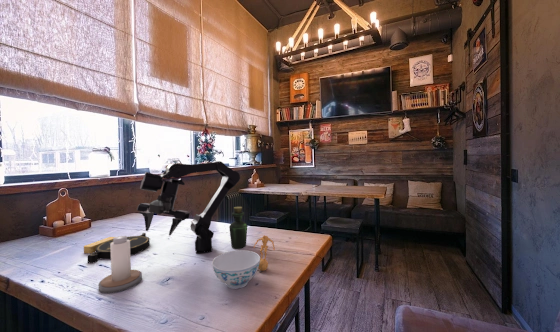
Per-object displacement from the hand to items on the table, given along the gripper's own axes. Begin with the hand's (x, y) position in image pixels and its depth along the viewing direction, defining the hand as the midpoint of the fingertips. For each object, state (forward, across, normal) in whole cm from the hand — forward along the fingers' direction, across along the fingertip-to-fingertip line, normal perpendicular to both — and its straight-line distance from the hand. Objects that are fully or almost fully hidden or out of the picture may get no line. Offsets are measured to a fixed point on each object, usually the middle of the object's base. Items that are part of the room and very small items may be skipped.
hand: (158, 233), depth 90 cm
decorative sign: (+15, -23, +17) cm, 32 cm away
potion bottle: (+3, +30, +16) cm, 34 cm away
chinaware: (+7, +36, -16) cm, 40 cm away
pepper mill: (+13, -2, -14) cm, 19 cm away
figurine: (+4, +44, -7) cm, 44 cm away
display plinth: (+14, -1, -14) cm, 20 cm away
